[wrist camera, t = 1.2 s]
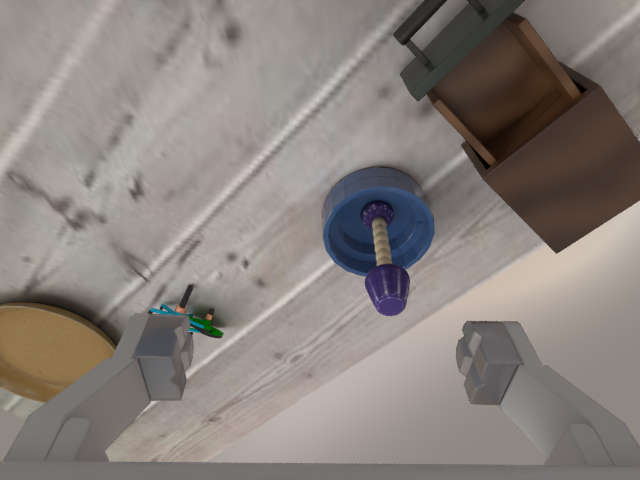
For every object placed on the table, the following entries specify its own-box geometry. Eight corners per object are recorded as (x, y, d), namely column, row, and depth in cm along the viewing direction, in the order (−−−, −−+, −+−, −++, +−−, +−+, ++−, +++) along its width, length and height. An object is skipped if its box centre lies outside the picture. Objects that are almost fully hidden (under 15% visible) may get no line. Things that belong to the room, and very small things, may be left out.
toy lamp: (365, 234, 58) (380, 329, 45) (349, 208, 56) (360, 300, 42) (398, 219, 57) (424, 312, 43) (383, 192, 54) (406, 282, 41)
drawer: (370, 43, 43) (377, 60, 38) (464, -59, 39) (486, -56, 33) (476, 154, 51) (494, 180, 46) (566, 80, 46) (598, 100, 41)
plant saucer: (15, 392, 78) (4, 409, 76) (-62, 294, 64) (-79, 310, 61) (148, 386, 78) (142, 403, 75) (100, 286, 63) (90, 302, 61)
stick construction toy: (137, 314, 64) (151, 335, 57) (157, 270, 64) (172, 286, 58) (210, 331, 71) (228, 352, 65) (227, 291, 71) (247, 308, 65)
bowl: (376, 144, 51) (381, 164, 47) (446, 209, 56) (457, 231, 52) (301, 215, 57) (300, 238, 53) (372, 268, 62) (376, 292, 58)
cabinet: (460, 145, 51) (482, 178, 44) (559, 61, 46) (600, 85, 39) (528, 215, 57) (556, 254, 50) (623, 149, 51) (668, 182, 45)
